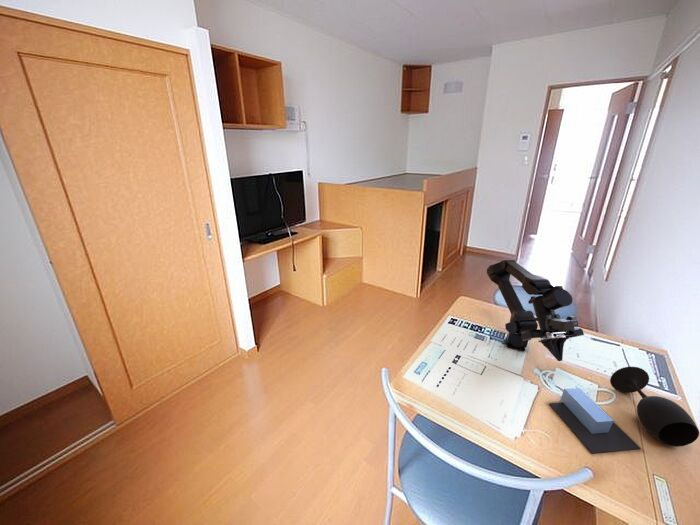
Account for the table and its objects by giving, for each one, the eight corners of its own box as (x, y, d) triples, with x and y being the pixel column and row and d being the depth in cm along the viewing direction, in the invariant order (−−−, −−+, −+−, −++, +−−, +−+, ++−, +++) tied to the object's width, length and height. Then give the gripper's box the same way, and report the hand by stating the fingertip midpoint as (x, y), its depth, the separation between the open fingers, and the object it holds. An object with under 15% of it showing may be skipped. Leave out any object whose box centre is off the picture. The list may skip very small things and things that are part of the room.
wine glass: (650, 365, 94) (706, 419, 76) (647, 391, 97) (700, 449, 79) (610, 367, 97) (655, 419, 78) (609, 392, 100) (652, 448, 82)
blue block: (564, 388, 93) (596, 422, 82) (579, 387, 94) (613, 420, 83) (560, 399, 95) (591, 433, 84) (575, 398, 96) (608, 432, 85)
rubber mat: (548, 404, 94) (549, 403, 94) (590, 401, 95) (591, 400, 95) (591, 453, 79) (592, 452, 79) (640, 449, 80) (640, 448, 80)
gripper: (535, 309, 96) (551, 360, 90) (589, 306, 98) (607, 356, 92) (514, 316, 106) (527, 363, 100) (563, 314, 108) (578, 359, 102)
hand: (560, 360), depth 98 cm, fingers closed
